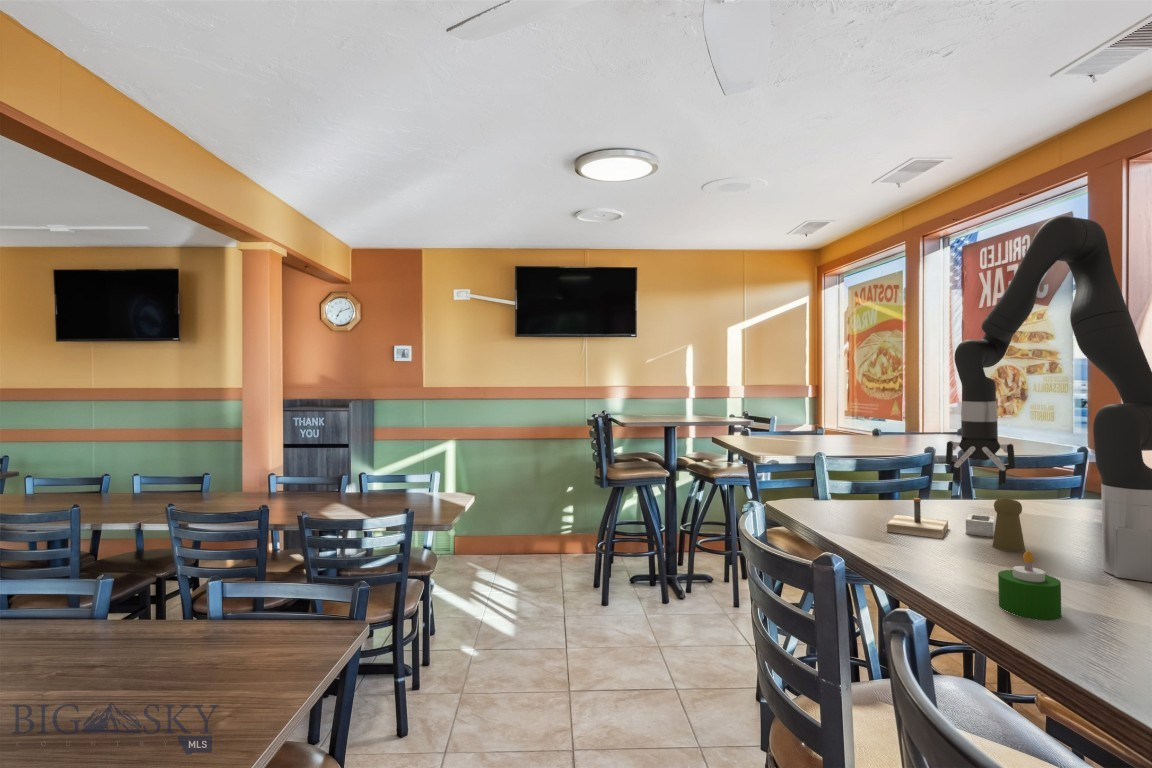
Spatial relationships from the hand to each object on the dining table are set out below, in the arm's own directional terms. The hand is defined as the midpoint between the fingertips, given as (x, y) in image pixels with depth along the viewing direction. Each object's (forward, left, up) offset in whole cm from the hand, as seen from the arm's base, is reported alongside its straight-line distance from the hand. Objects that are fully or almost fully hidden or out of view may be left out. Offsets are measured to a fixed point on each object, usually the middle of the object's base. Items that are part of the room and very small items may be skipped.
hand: (979, 483), depth 148 cm
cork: (-13, -6, -12) cm, 19 cm away
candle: (-55, -10, -12) cm, 57 cm away
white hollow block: (0, 0, -12) cm, 12 cm away
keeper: (-6, +13, -12) cm, 19 cm away
